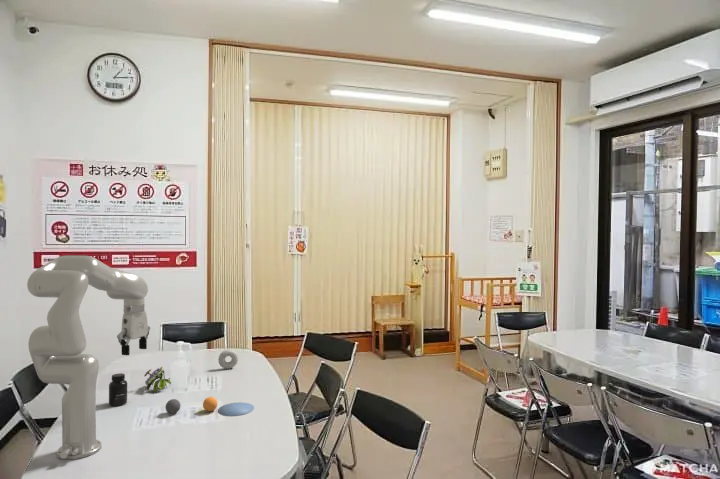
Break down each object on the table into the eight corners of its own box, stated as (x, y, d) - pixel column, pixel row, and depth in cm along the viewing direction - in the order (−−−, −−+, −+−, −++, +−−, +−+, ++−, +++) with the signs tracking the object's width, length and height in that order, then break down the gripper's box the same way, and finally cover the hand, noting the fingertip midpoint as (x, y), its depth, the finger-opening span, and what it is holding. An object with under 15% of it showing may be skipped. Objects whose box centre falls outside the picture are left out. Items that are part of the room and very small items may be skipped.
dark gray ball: (179, 415, 188) (179, 401, 188) (164, 416, 187) (164, 402, 187) (181, 410, 194) (181, 396, 193) (166, 411, 193) (166, 397, 192)
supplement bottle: (119, 407, 196) (119, 378, 196) (105, 406, 198) (104, 376, 197) (131, 401, 203) (130, 373, 203) (116, 400, 204) (116, 371, 204)
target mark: (253, 414, 190) (253, 414, 190) (216, 417, 187) (216, 416, 187) (254, 401, 203) (254, 401, 203) (219, 404, 201) (219, 403, 201)
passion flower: (148, 401, 219) (144, 375, 224) (174, 393, 223) (169, 368, 228) (145, 393, 210) (141, 367, 215) (172, 386, 214) (167, 360, 219)
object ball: (216, 413, 191) (216, 399, 191) (202, 414, 190) (202, 400, 190) (218, 407, 196) (218, 394, 196) (203, 408, 195) (203, 395, 195)
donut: (218, 370, 247) (218, 351, 247) (218, 368, 250) (217, 349, 250) (238, 368, 251) (238, 349, 251) (237, 366, 254) (237, 347, 254)
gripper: (126, 313, 184) (126, 358, 184) (156, 306, 201) (156, 347, 201) (109, 312, 186) (110, 356, 186) (141, 305, 203) (141, 346, 203)
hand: (134, 351), depth 194 cm, fingers open, 9 cm apart
